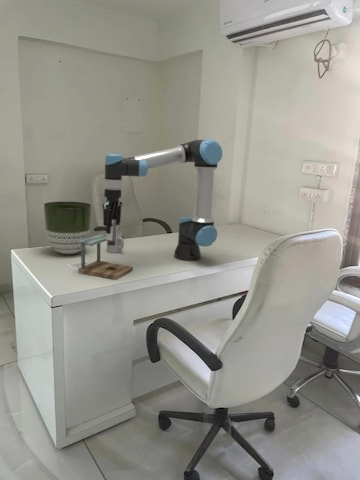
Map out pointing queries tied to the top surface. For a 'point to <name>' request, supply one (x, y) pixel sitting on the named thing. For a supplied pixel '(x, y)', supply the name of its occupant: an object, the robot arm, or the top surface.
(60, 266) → the top surface
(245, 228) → the top surface
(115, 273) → the peg stand
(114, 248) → the mug
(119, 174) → the robot arm
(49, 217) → the planter
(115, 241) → the peg
